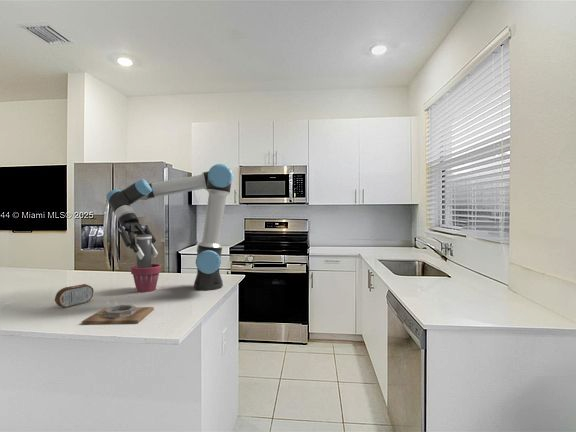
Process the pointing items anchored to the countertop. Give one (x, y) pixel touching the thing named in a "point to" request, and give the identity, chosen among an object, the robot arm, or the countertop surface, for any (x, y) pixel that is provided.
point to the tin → (74, 295)
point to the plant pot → (146, 277)
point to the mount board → (119, 320)
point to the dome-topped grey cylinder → (145, 250)
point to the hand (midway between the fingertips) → (149, 256)
